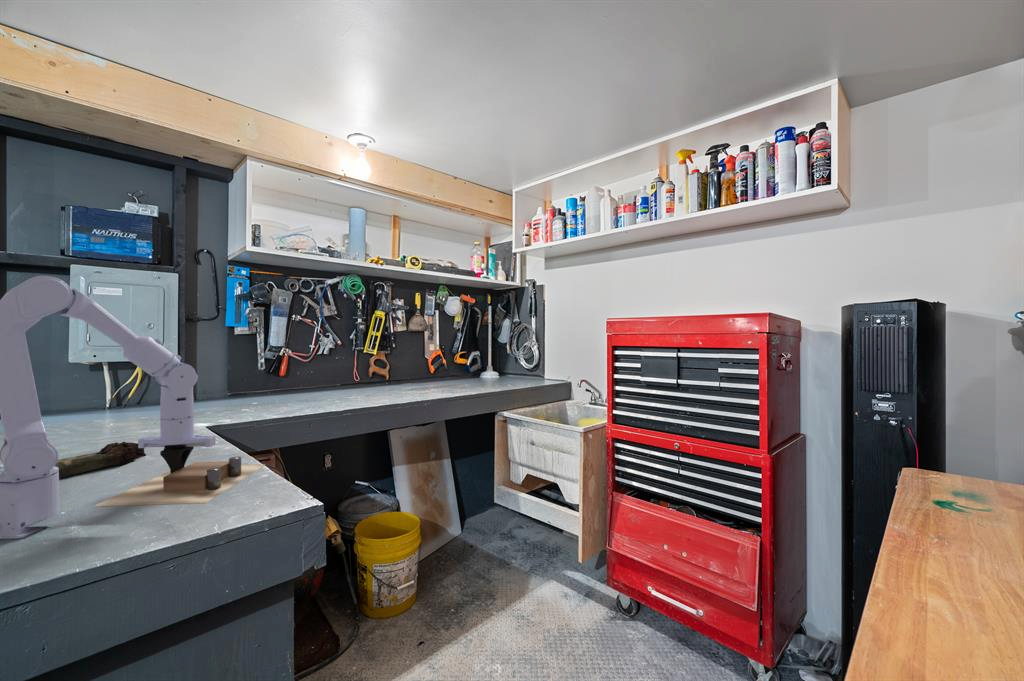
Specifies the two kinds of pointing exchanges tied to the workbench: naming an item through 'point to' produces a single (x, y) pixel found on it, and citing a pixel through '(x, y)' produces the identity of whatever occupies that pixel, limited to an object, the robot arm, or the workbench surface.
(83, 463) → the mossy wood log
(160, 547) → the workbench surface
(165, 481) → the walnut plate
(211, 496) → the bench board
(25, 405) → the robot arm
